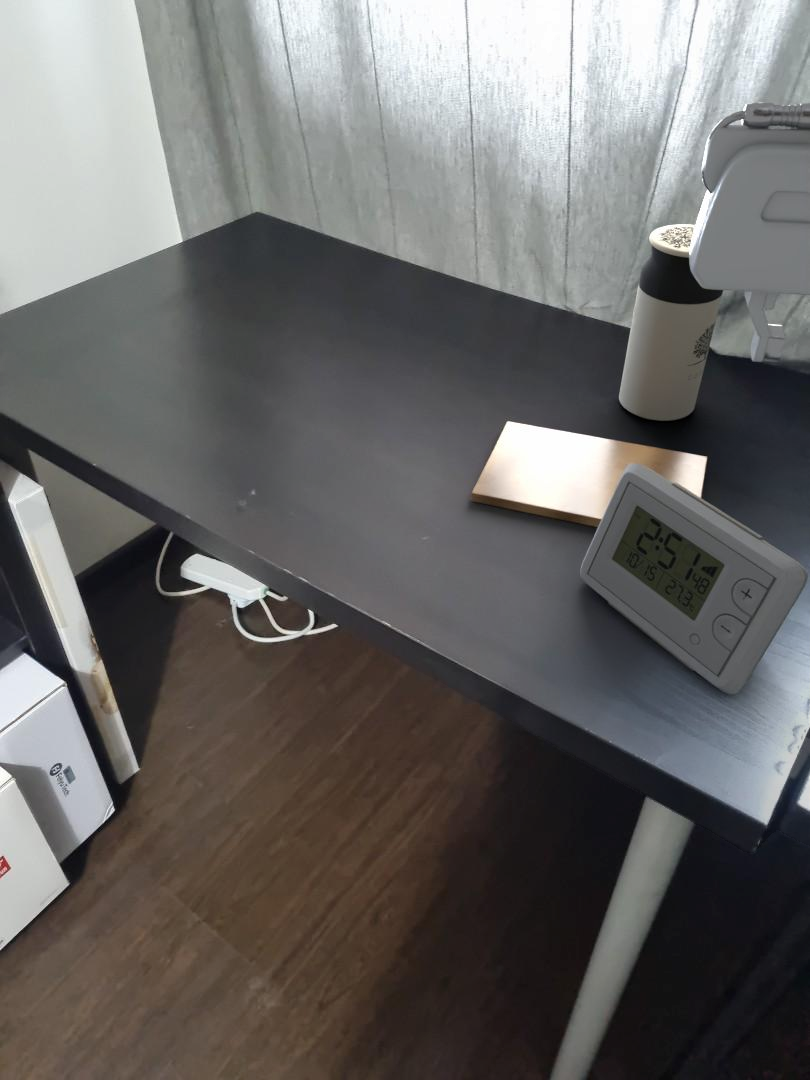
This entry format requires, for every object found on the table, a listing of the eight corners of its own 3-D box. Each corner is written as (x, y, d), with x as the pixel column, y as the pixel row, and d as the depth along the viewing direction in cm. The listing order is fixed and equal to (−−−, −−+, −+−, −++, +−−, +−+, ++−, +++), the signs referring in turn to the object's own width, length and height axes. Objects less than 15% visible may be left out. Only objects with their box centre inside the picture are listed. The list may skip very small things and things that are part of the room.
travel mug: (603, 400, 90) (629, 235, 78) (651, 377, 94) (684, 216, 82) (660, 431, 85) (697, 261, 73) (709, 406, 89) (752, 240, 77)
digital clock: (567, 574, 69) (583, 470, 62) (657, 545, 72) (682, 443, 65) (690, 718, 58) (726, 611, 51) (791, 678, 60) (839, 571, 53)
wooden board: (705, 464, 81) (707, 456, 80) (692, 547, 71) (695, 538, 71) (506, 428, 86) (507, 420, 85) (470, 501, 77) (471, 492, 76)
